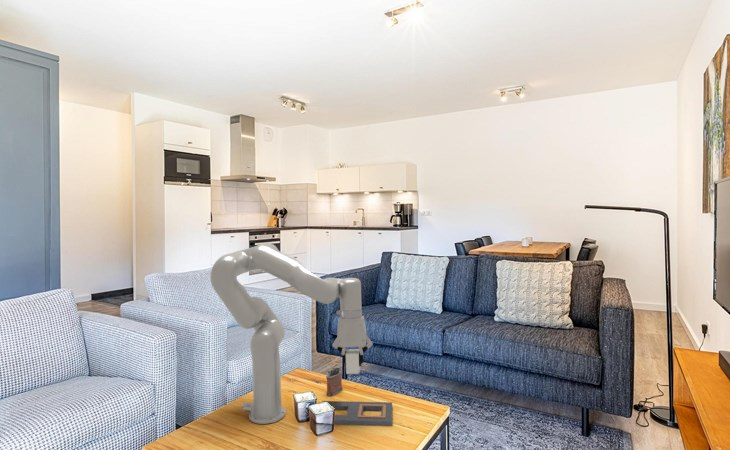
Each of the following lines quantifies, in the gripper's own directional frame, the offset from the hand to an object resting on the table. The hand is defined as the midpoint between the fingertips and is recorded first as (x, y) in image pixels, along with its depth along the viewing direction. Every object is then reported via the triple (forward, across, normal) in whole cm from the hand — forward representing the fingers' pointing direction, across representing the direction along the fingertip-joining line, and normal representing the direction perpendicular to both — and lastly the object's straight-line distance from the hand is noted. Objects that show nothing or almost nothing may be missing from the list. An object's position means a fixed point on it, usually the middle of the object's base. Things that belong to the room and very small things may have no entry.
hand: (353, 364), depth 146 cm
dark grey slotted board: (+18, 0, 0) cm, 18 cm away
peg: (+2, 0, 0) cm, 2 cm away
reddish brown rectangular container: (+18, -10, +18) cm, 27 cm away
